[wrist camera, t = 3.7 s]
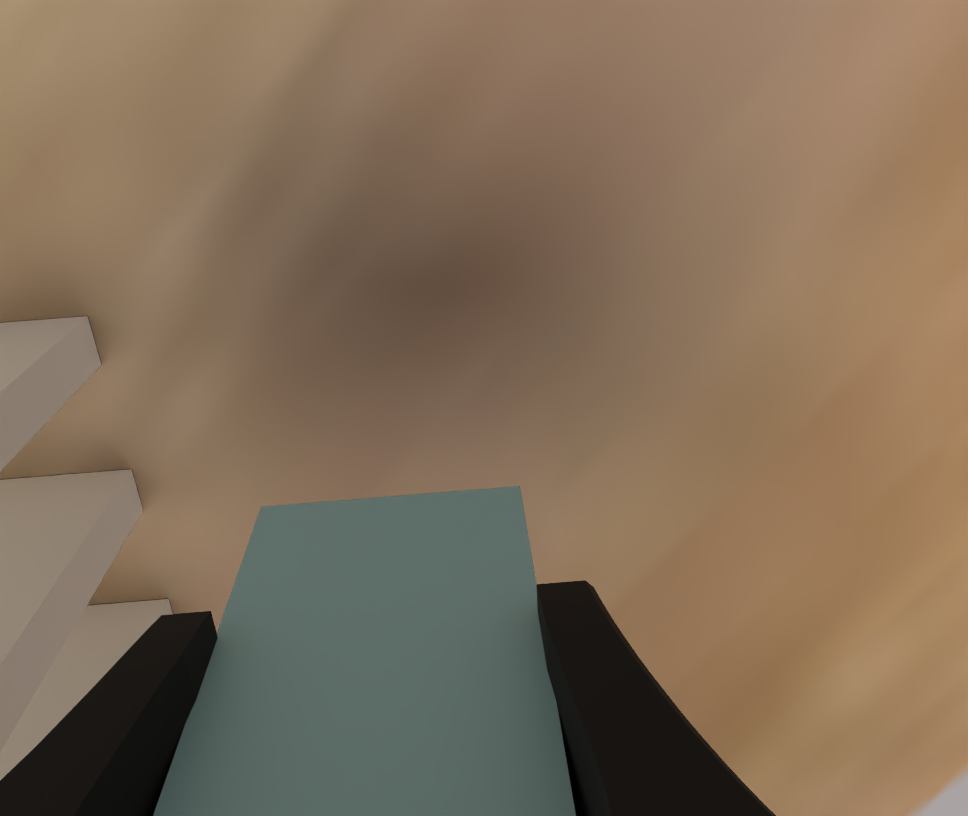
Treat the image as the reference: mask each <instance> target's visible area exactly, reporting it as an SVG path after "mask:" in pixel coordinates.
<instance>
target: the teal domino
mask: <svg viewBox="0 0 968 816" xmlns="http://www.w3.org/2000/svg"><path fill="white" fill-rule="evenodd" d="M536 585H537V584H536V578H535V572H534V567H533V561H532V555H531V549H530V543H529V537H528V531H527V525H526V520H525V514H524V508H523V502H522V496H521V490H520V486H515V487H503V488H490V489H477V490H465V491H452V492H440V493H427V494H415V495H402V496H390V497H377V498H365V499H352V500H340V501H327V502H315V503H302V504H290V505H277V506H265V507H261V509H260V512H259V515H258V518H257V520H256V523H255V526H254V529H253V532H252V535H251V538H250V540H249V543H248V546H247V549H246V552H245V555H244V558H243V560H242V563H241V566H240V569H239V572H238V575H237V578H236V580H235V583H234V586H233V589H232V592H231V595H230V598H229V600H228V603H227V606H226V609H225V612H224V615H223V618H222V620H221V623H220V626H219V629H218V632H217V637H218V638H217V641H216V644H215V647H214V650H213V653H212V656H211V659H210V662H209V664H208V667H207V670H206V673H205V676H204V679H203V682H202V685H201V688H200V690H199V693H198V696H197V699H196V701H195V704H194V706H193V708H192V710H191V712H190V714H189V717H188V719H187V721H186V723H185V726H184V729H183V732H182V735H181V737H180V740H179V743H178V746H177V749H176V752H175V755H174V757H173V760H172V763H171V766H170V769H169V772H168V775H167V777H166V780H165V783H164V786H163V789H162V792H161V795H160V797H159V800H158V803H157V806H156V809H155V812H154V814H153V816H576V813H575V807H574V801H573V796H572V790H571V784H570V778H569V772H568V766H567V760H566V754H565V749H564V743H563V737H562V731H561V725H560V719H559V713H558V707H557V702H556V699H555V695H554V692H553V688H552V685H551V681H550V678H549V674H548V671H547V666H546V660H545V653H544V647H543V641H542V635H541V629H540V623H539V617H538V610H537V586H536Z"/></svg>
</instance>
